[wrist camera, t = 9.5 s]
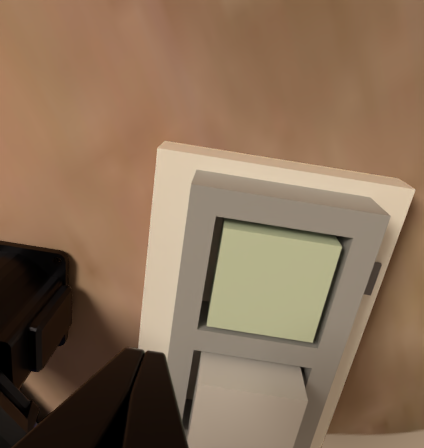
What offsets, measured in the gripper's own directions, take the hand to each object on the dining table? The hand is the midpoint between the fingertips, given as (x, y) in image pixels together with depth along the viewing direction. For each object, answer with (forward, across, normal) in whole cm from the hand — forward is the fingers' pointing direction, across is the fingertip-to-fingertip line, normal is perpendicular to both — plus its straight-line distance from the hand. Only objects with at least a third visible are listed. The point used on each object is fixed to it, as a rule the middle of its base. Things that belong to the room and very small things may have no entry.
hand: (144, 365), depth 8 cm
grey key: (+9, -4, +10) cm, 14 cm away
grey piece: (+13, -4, +10) cm, 17 cm away
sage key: (+11, -4, +3) cm, 12 cm away
